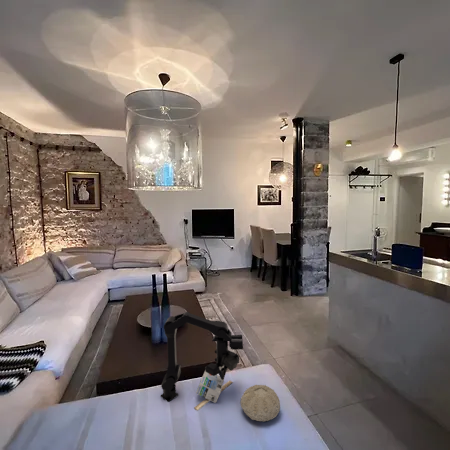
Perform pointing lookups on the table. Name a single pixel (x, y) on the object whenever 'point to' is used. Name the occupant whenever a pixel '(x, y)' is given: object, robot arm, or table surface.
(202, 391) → the light bulb box
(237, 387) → the table surface
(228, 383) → the rail
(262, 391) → the beige carved stone
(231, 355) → the robot arm
